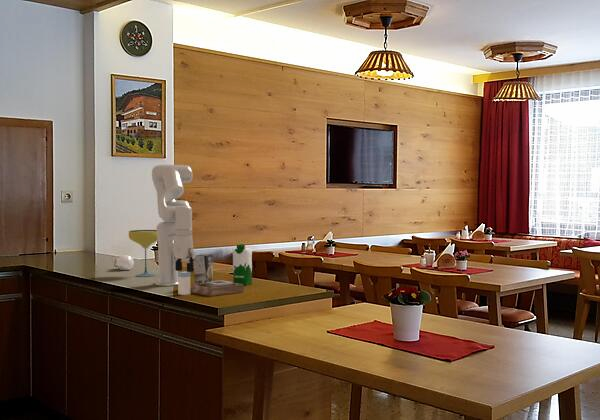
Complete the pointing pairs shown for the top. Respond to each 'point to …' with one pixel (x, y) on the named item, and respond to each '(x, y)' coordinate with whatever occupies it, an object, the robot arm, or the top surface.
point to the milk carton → (242, 265)
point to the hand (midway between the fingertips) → (184, 271)
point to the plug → (184, 283)
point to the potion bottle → (124, 262)
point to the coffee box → (203, 268)
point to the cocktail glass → (144, 243)
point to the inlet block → (218, 284)
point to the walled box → (217, 289)
